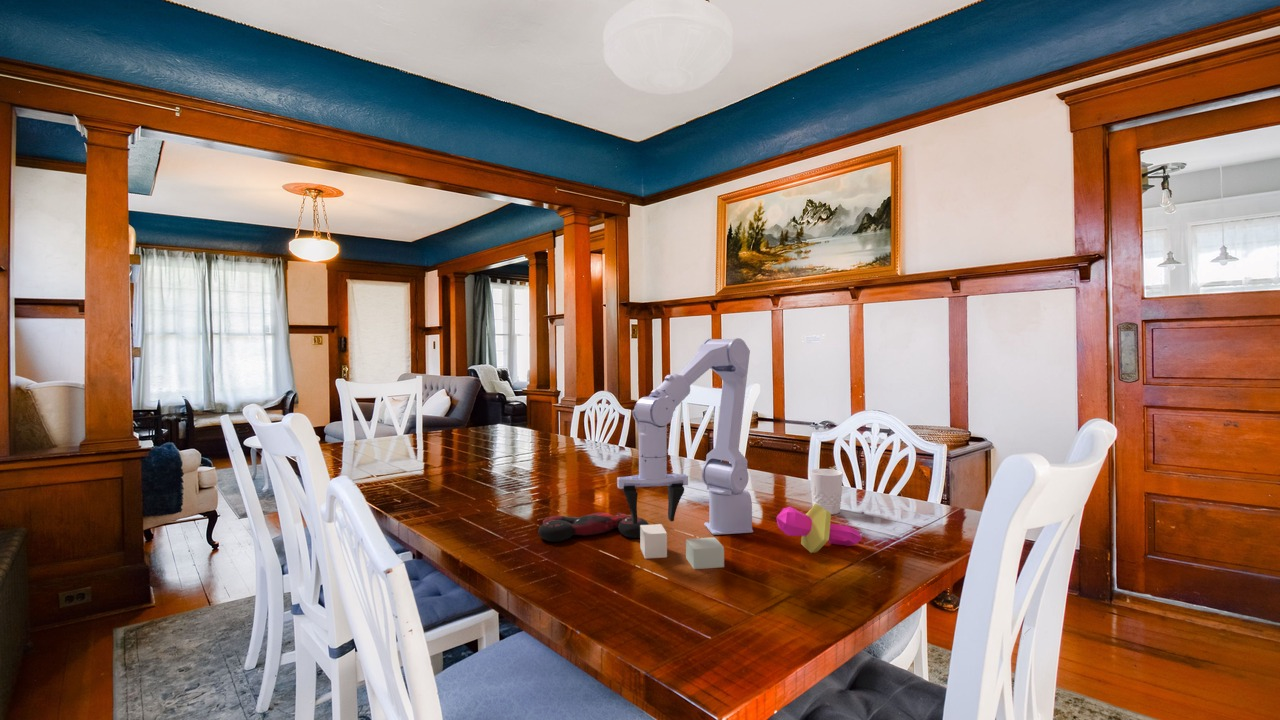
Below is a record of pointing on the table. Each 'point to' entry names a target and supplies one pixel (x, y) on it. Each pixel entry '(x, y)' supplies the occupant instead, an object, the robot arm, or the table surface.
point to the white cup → (827, 489)
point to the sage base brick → (704, 553)
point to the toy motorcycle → (589, 526)
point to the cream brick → (653, 541)
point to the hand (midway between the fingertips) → (652, 521)
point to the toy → (815, 528)
